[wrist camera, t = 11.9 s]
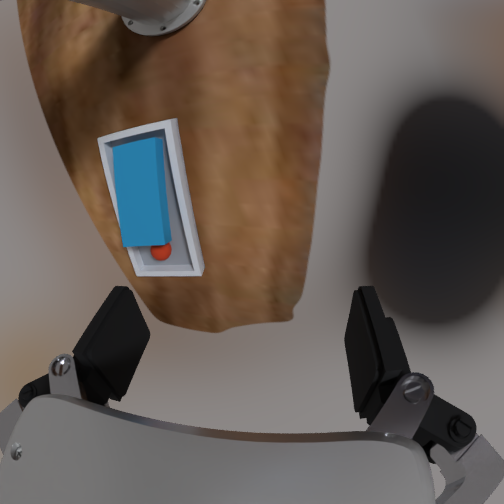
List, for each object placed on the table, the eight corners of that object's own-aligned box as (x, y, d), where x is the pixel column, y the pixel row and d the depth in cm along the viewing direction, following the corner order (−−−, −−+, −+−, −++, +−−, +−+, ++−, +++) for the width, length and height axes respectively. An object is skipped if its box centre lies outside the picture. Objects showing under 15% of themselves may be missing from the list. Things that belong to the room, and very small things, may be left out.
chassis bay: (106, 135, 34) (97, 138, 32) (176, 117, 33) (170, 119, 31) (142, 268, 47) (136, 276, 45) (204, 267, 45) (201, 276, 43)
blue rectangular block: (136, 149, 39) (148, 257, 44) (112, 147, 32) (127, 271, 37) (175, 142, 38) (186, 256, 43) (154, 137, 32) (169, 271, 36)
